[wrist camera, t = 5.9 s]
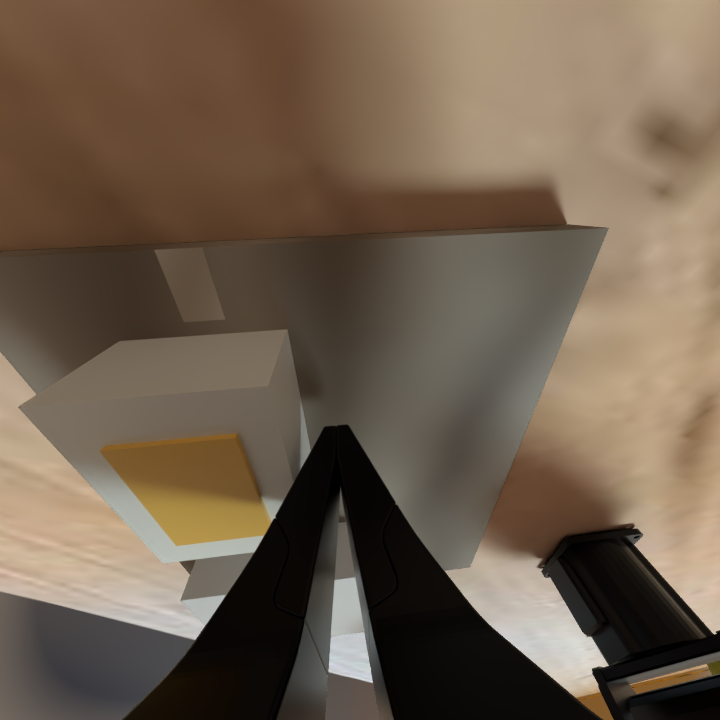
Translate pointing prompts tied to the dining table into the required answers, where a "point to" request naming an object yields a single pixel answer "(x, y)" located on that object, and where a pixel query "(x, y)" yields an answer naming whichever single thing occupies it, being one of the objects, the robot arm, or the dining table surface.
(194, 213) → the dining table surface
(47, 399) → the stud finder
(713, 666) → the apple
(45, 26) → the dining table surface
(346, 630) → the pilot socket
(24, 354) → the board
